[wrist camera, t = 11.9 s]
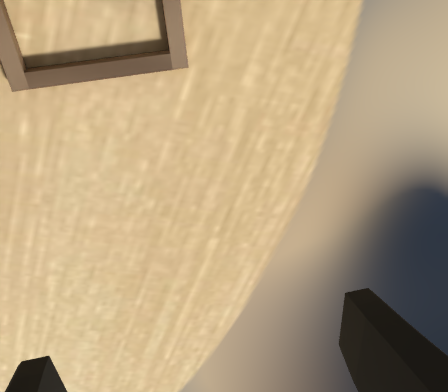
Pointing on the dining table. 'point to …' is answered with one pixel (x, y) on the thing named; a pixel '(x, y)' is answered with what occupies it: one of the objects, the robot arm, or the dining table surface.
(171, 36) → the track board
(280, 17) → the dining table surface
